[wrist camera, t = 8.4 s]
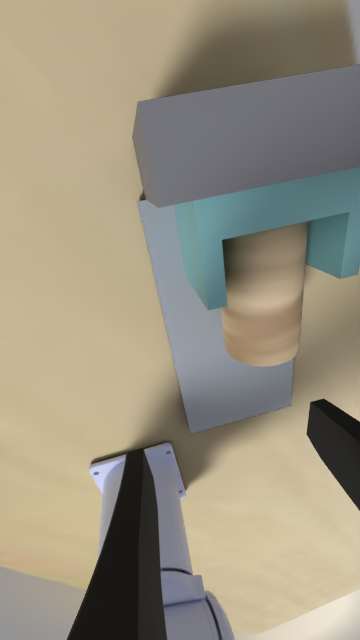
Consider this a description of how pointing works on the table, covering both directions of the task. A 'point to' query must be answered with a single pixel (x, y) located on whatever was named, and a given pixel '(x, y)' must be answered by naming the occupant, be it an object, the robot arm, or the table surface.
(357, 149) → the backstop wall
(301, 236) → the dowel
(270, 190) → the teal arch
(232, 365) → the board
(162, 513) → the robot arm
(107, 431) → the table surface
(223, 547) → the table surface
